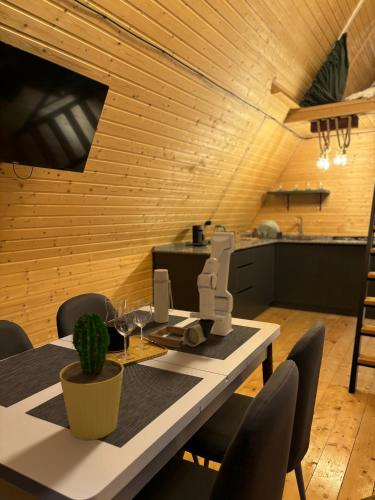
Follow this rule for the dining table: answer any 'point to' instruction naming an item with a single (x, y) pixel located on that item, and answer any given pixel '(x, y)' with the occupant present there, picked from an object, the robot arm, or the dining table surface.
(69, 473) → the dining table surface
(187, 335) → the ceramic mug
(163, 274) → the water bottle
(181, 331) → the walnut bracket
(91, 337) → the potted cactus
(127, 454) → the dining table surface
